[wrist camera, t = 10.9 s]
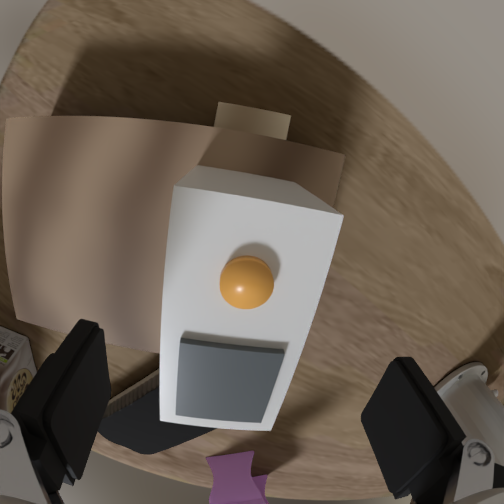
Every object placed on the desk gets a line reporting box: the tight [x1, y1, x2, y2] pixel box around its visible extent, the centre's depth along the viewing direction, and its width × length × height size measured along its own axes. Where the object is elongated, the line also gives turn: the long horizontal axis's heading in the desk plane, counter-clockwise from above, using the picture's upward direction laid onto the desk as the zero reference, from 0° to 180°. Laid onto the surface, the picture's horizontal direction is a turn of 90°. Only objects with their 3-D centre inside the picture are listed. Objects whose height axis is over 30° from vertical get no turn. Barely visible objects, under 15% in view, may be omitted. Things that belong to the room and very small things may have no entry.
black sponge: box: [98, 368, 217, 454], centre depth 26 cm, size 16×8×4 cm, turn 127°
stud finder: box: [160, 165, 344, 431], centre depth 13 cm, size 5×10×7 cm, turn 169°
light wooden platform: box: [2, 102, 346, 354], centre depth 18 cm, size 20×16×6 cm
